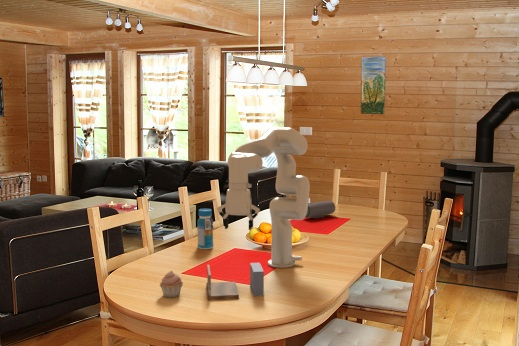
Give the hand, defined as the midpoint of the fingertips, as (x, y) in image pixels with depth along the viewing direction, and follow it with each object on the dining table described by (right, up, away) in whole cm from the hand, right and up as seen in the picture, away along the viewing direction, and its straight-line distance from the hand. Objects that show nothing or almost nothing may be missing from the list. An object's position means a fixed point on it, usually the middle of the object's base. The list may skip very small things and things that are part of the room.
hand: (238, 228), depth 232 cm
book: (+7, -25, +2) cm, 27 cm away
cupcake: (-26, -26, -3) cm, 37 cm away
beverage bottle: (-19, -16, +68) cm, 72 cm away
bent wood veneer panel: (-7, -26, +1) cm, 26 cm away
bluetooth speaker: (+47, -7, +142) cm, 150 cm away
